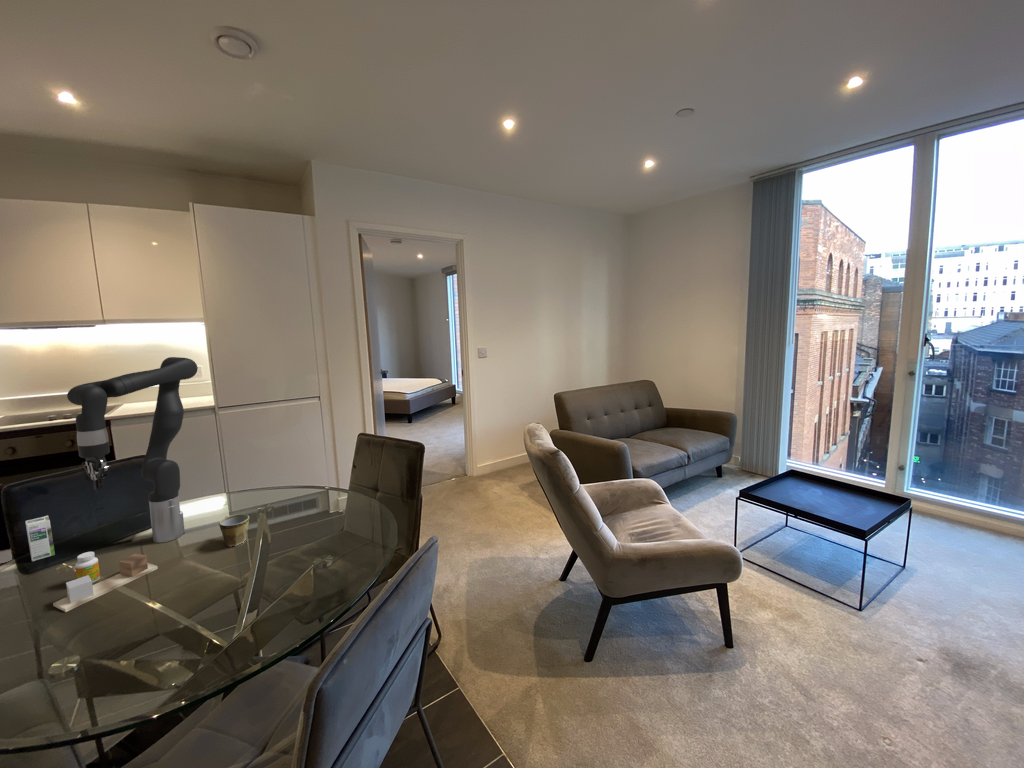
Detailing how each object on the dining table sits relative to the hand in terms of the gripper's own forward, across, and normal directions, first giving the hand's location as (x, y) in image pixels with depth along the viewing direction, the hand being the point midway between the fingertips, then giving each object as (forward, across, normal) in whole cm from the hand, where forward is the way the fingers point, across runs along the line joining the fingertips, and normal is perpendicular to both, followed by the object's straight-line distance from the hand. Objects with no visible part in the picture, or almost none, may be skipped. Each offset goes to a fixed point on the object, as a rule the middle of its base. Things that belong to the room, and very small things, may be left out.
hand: (99, 489), depth 142 cm
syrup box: (+29, +29, +6) cm, 42 cm away
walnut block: (+28, -16, 0) cm, 32 cm away
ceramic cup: (+29, -26, -28) cm, 48 cm away
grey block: (+28, -16, +14) cm, 35 cm away
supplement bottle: (+29, -6, +8) cm, 31 cm away
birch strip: (+29, -16, +7) cm, 34 cm away
